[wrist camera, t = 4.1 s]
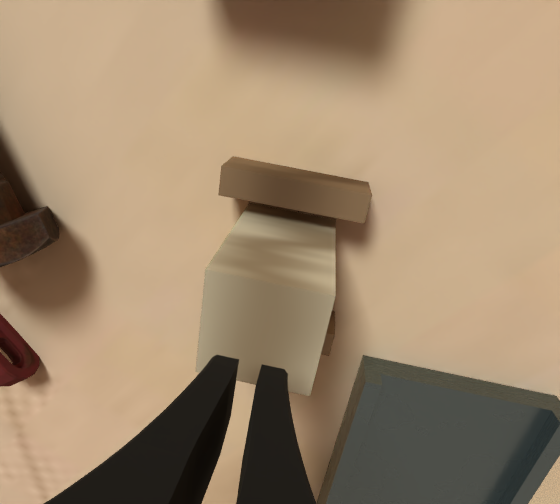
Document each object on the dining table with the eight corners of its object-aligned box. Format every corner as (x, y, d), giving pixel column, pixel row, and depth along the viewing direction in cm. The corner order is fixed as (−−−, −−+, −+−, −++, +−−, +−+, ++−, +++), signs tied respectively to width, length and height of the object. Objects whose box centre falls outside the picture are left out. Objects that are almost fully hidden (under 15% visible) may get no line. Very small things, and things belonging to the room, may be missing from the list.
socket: (368, 182, 18) (372, 195, 16) (329, 331, 21) (329, 355, 19) (233, 156, 18) (221, 166, 16) (215, 307, 21) (204, 329, 19)
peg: (335, 219, 18) (335, 295, 12) (317, 294, 20) (309, 396, 14) (249, 202, 19) (205, 269, 12) (239, 278, 20) (195, 371, 14)
